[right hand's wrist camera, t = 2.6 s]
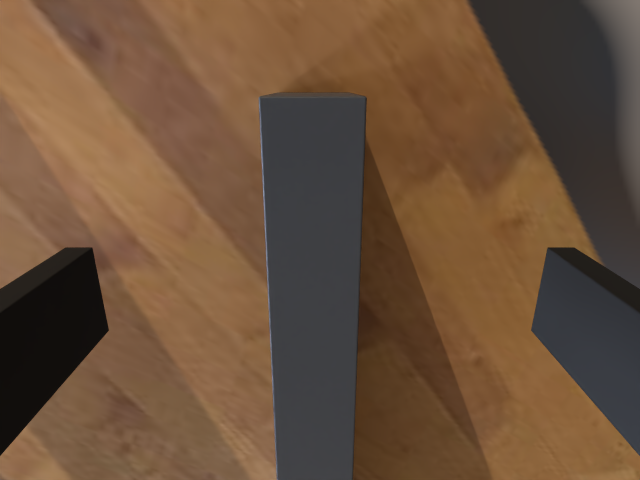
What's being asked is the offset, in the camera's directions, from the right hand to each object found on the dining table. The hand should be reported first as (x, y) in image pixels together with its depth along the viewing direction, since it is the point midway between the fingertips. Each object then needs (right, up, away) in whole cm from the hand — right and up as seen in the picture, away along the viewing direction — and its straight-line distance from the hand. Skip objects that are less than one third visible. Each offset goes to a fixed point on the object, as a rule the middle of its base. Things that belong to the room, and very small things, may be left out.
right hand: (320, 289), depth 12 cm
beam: (0, -14, +22) cm, 26 cm away
